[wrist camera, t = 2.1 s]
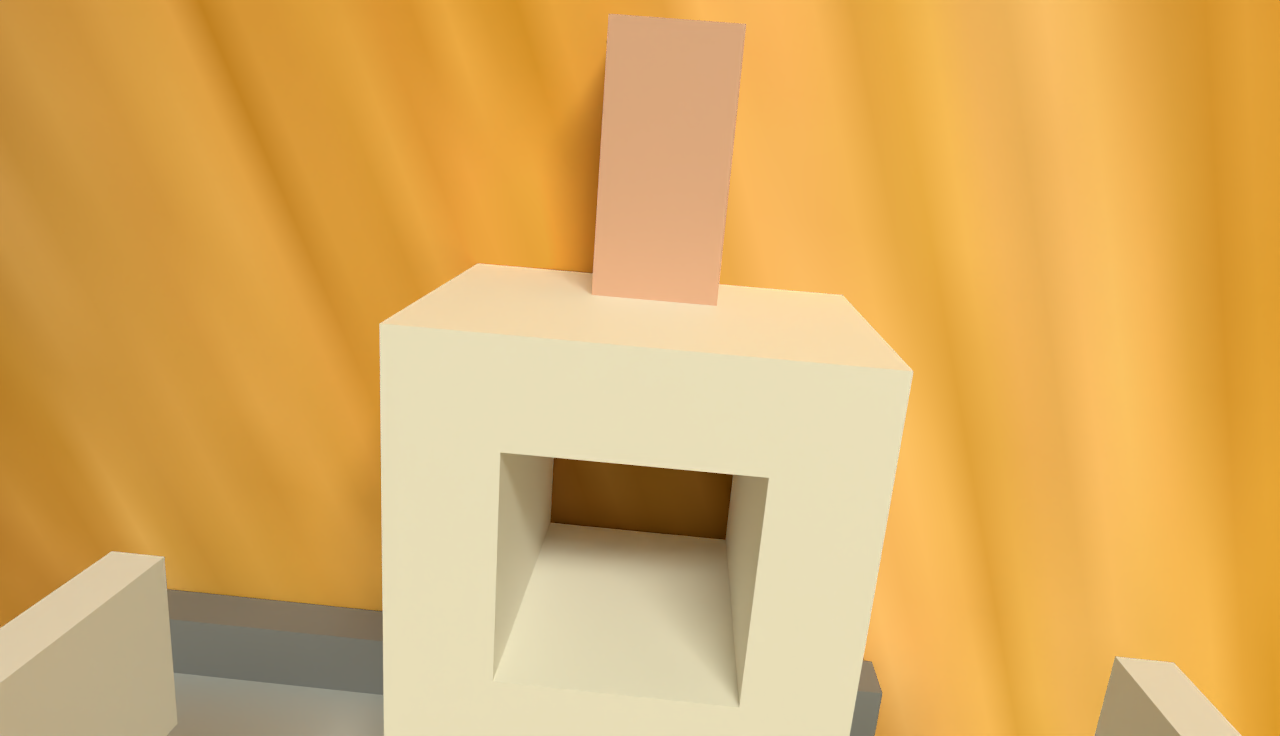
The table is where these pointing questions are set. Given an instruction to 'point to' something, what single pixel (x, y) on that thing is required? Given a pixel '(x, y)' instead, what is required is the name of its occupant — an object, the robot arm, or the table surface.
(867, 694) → the grey walled tray
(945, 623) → the table surface
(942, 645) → the table surface
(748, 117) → the table surface
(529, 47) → the table surface
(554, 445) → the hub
